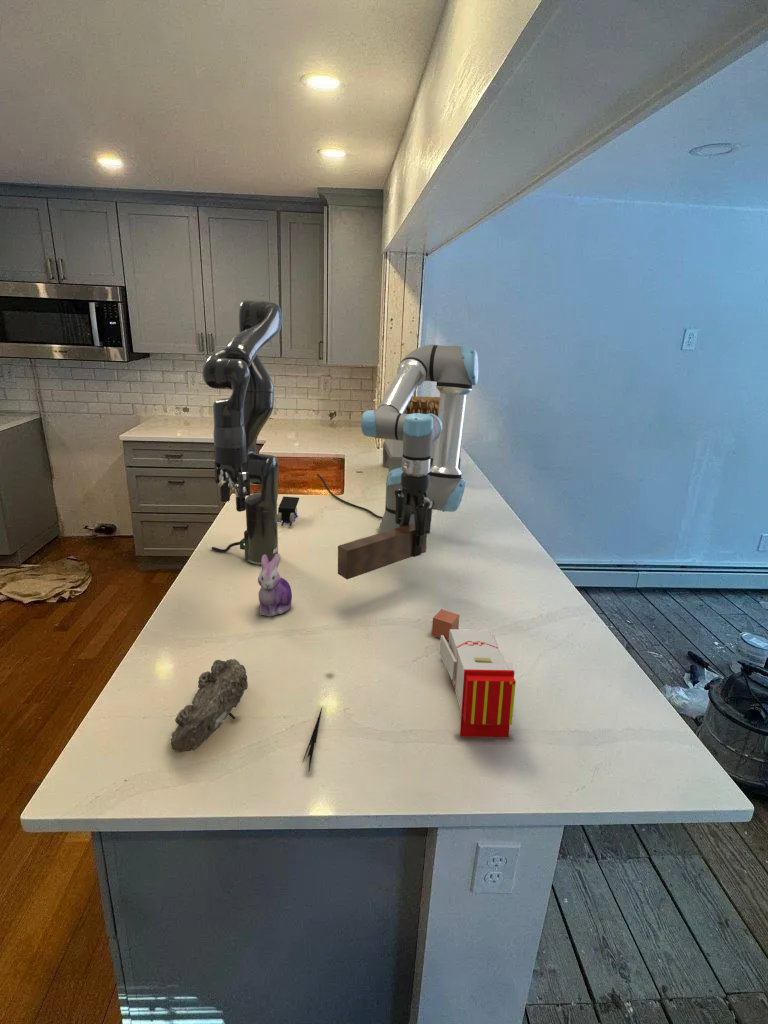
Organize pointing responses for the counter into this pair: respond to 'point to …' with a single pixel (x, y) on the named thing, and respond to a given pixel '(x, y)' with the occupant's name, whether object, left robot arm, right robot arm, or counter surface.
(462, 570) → the counter surface
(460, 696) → the toy
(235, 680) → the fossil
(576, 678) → the counter surface
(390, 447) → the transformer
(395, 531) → the plank
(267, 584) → the figurine
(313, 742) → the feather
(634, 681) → the counter surface
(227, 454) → the left robot arm
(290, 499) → the figurine character
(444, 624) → the terracotta block
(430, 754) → the counter surface
